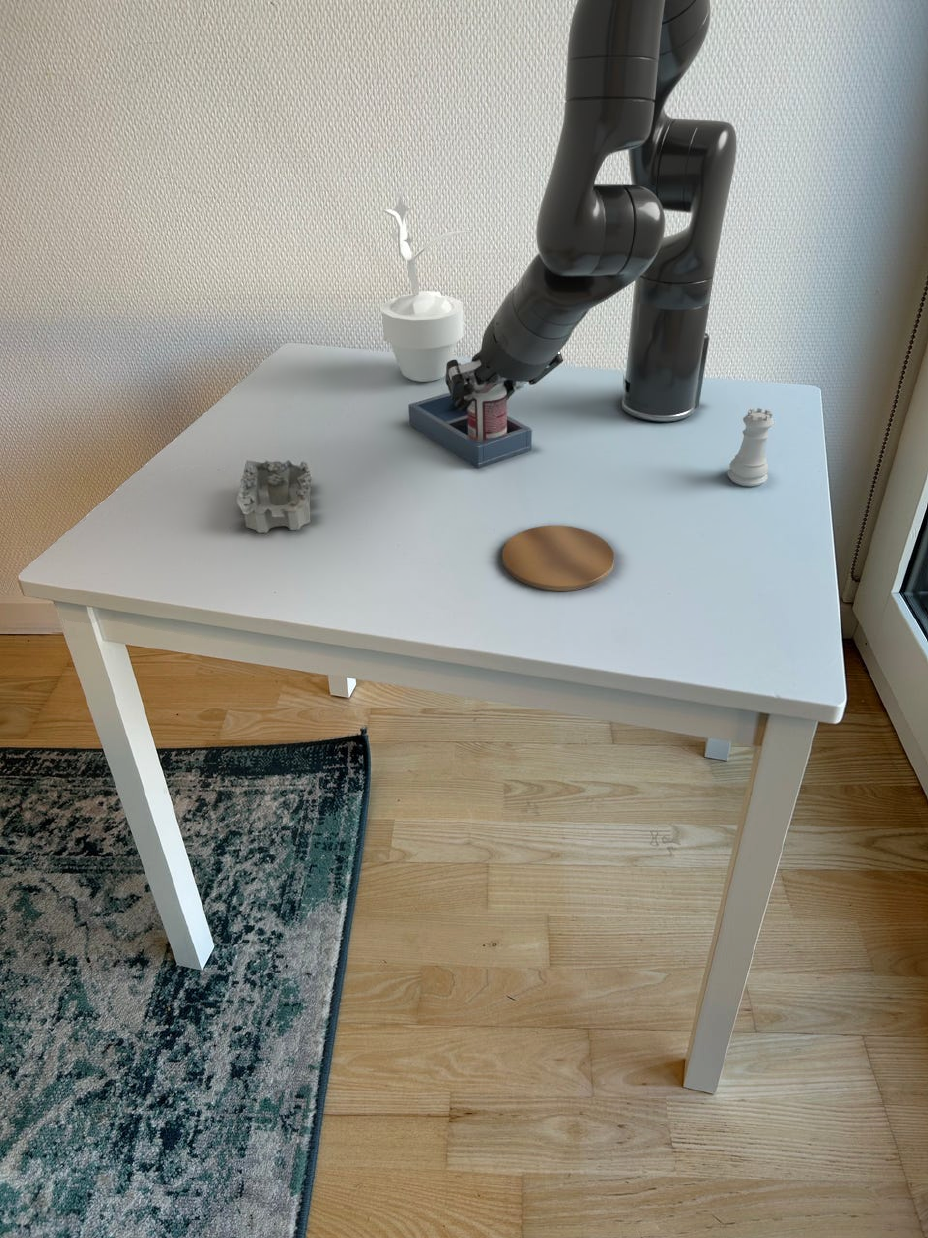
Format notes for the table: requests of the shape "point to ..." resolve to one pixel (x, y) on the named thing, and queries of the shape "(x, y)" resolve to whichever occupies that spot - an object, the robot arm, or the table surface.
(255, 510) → the egg carton
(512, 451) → the holder
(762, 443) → the rook chess piece
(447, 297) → the potted plant
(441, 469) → the table surface
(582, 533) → the disc
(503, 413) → the pill bottle
